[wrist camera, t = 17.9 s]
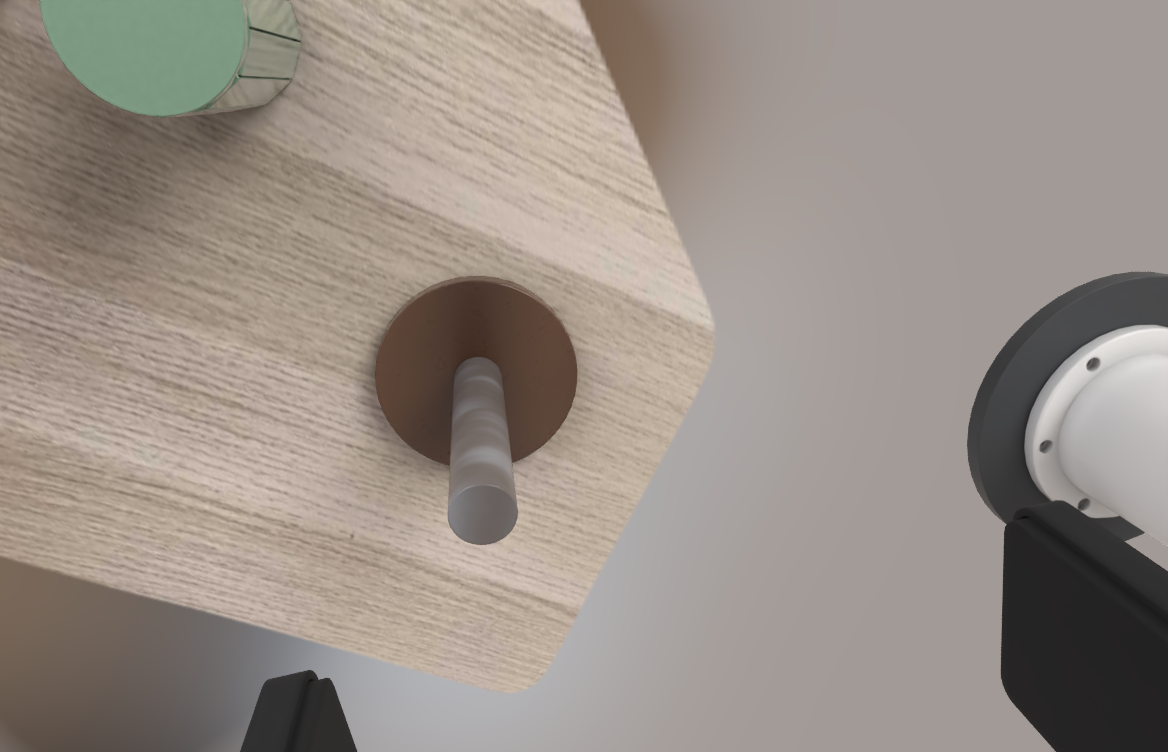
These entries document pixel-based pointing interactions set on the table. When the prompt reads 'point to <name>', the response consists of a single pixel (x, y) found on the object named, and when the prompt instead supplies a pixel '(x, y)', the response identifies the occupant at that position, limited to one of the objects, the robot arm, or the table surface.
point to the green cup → (176, 52)
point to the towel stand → (477, 390)
